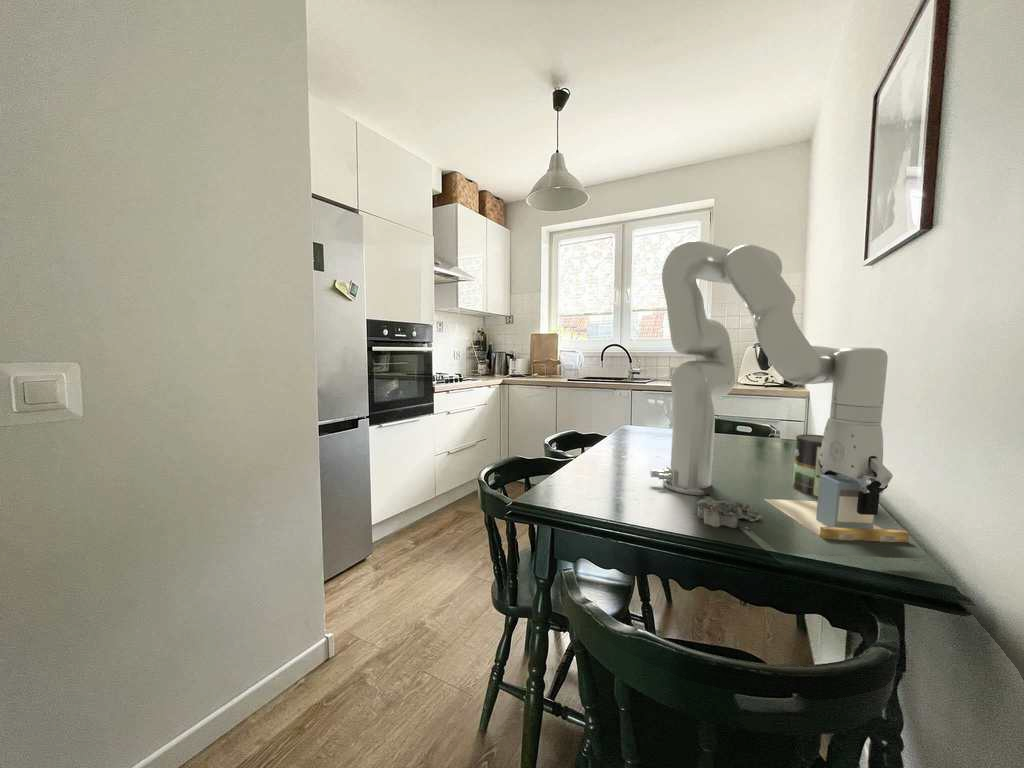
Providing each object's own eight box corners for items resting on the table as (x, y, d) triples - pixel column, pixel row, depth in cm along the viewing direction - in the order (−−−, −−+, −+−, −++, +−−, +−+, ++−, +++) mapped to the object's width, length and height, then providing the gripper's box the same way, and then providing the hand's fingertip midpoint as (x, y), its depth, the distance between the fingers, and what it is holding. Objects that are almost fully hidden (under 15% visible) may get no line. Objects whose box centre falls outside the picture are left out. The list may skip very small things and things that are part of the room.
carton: (816, 519, 85) (819, 474, 84) (852, 521, 84) (857, 476, 84) (835, 531, 79) (839, 483, 79) (874, 532, 79) (879, 484, 78)
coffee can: (786, 495, 103) (791, 437, 102) (797, 486, 111) (801, 432, 109) (839, 507, 96) (845, 445, 95) (847, 497, 103) (853, 439, 102)
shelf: (823, 547, 76) (825, 529, 76) (762, 505, 96) (763, 491, 96) (908, 550, 75) (910, 533, 75) (829, 508, 95) (830, 494, 95)
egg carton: (705, 528, 84) (706, 507, 84) (693, 513, 91) (694, 494, 91) (763, 531, 83) (764, 511, 82) (747, 516, 90) (748, 497, 90)
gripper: (805, 407, 89) (798, 488, 90) (870, 421, 71) (861, 521, 73) (842, 408, 88) (835, 489, 90) (918, 423, 71) (907, 523, 73)
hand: (847, 504), depth 81 cm, fingers open, 9 cm apart
